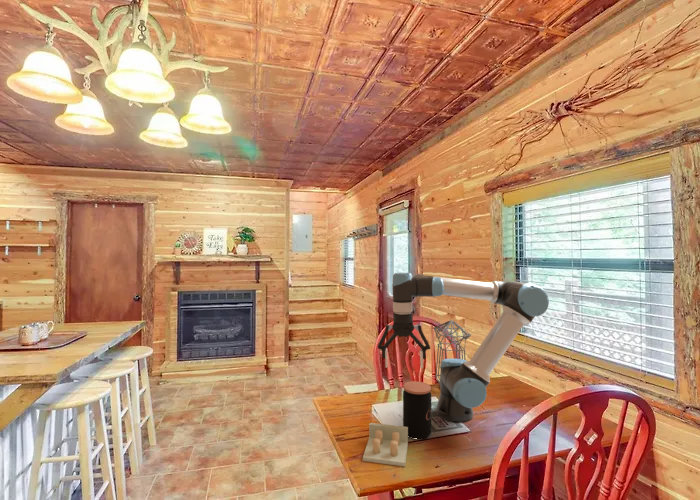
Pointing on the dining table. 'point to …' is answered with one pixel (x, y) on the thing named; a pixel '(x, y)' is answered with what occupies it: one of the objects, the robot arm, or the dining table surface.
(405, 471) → the dining table surface
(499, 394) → the dining table surface
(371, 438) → the peg stand
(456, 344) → the geometric lantern
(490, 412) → the dining table surface
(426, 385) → the coffee jar
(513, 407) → the dining table surface
